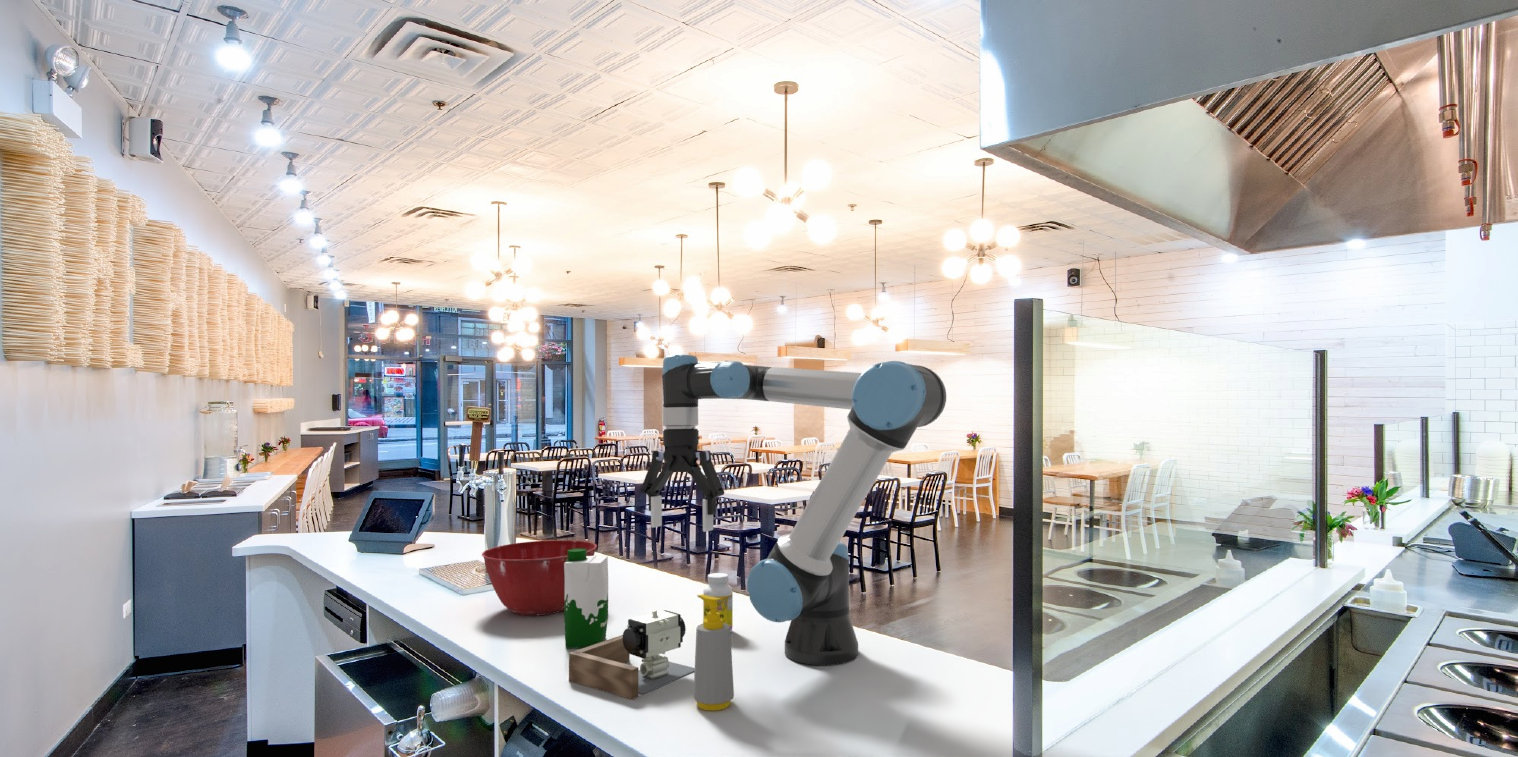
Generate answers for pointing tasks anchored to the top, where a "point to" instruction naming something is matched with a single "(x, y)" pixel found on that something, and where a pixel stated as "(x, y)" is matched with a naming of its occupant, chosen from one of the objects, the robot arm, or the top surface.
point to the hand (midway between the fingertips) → (681, 528)
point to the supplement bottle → (722, 591)
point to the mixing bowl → (531, 574)
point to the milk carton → (585, 599)
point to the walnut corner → (605, 668)
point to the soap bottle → (713, 661)
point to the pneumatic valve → (654, 640)
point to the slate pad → (673, 673)
